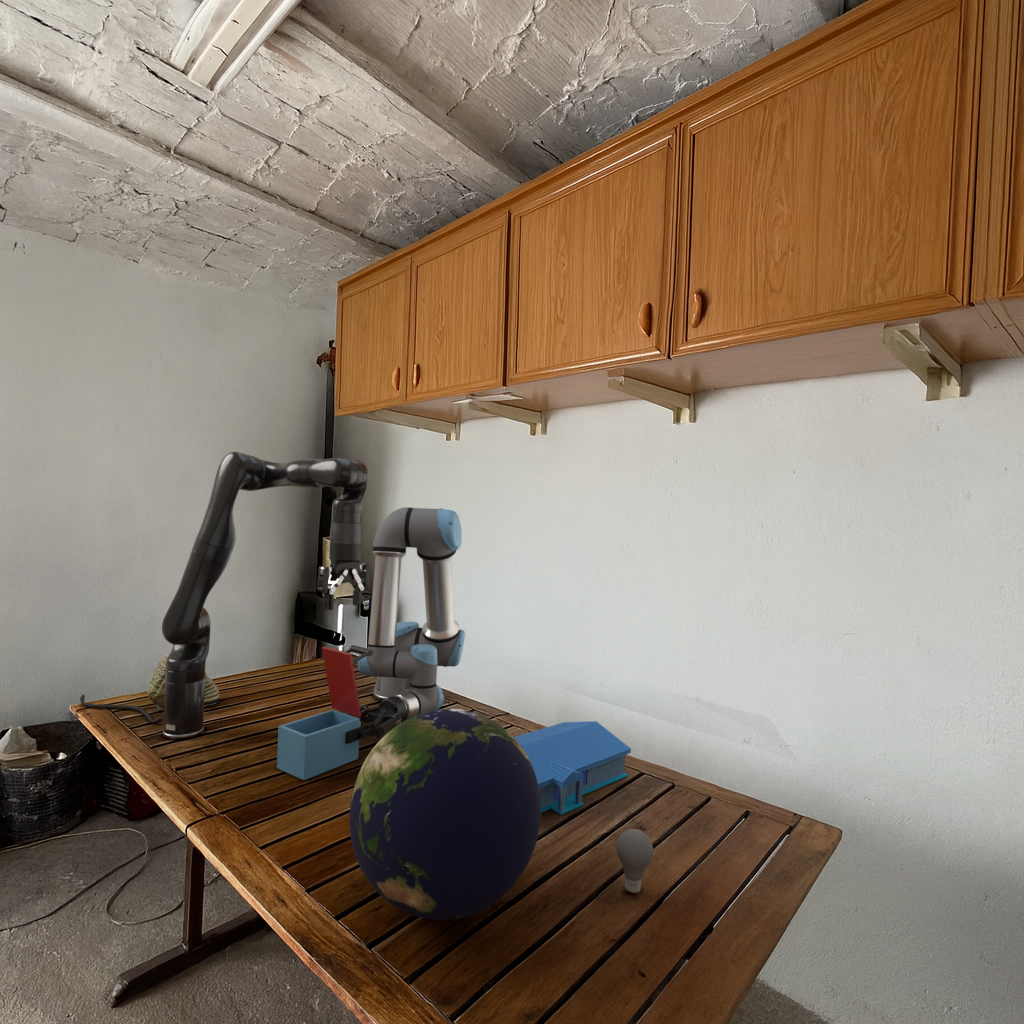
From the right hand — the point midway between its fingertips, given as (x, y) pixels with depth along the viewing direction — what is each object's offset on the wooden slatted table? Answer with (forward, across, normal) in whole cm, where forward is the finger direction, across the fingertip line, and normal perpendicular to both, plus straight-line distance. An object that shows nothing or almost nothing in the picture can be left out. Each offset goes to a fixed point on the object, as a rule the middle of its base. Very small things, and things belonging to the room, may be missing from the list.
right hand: (332, 732), depth 153 cm
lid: (-2, 0, +12) cm, 12 cm away
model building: (-21, -47, -6) cm, 52 cm away
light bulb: (+3, -80, -6) cm, 80 cm away
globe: (+25, -57, -6) cm, 62 cm away
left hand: (-2, 0, +30) cm, 30 cm away
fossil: (+3, +61, -6) cm, 62 cm away
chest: (+4, 0, -6) cm, 7 cm away
